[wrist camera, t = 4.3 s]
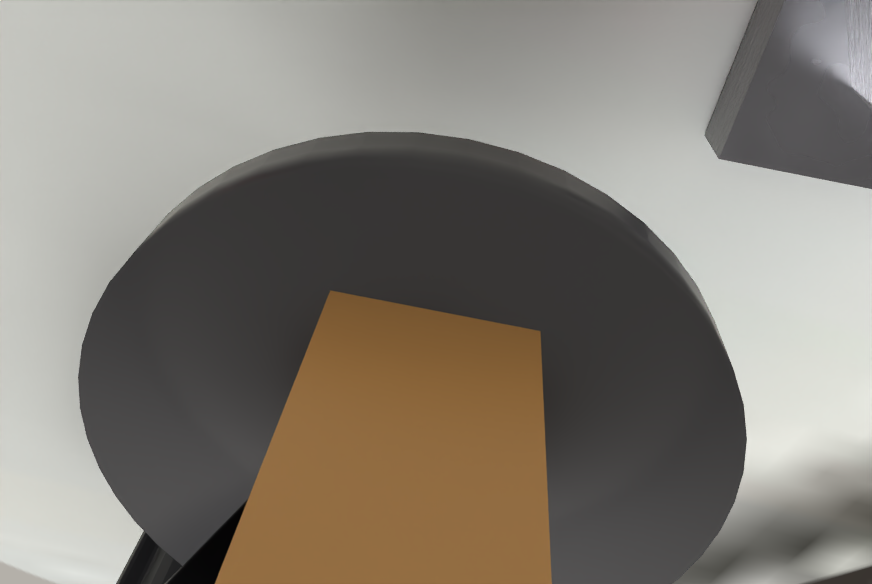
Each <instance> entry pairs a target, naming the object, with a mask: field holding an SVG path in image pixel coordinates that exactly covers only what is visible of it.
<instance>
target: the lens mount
mask: <svg viewBox="0 0 872 584" xmlns="http://www.w3.org/2000/svg"><path fill="white" fill-rule="evenodd" d="M705 137H706V138H707V140H708V142H709V143H710V145H711V147H712V148H713V150H714V152H715V153H716V155H717V157H718V158H719V159H722V160H728V161H733V162H738V163H743V164H748V165H753V166H758V167H763V168H768V169H773V170H778V171H783V172H788V173H794V174H799V175H804V176H809V177H814V178H819V179H824V180H829V181H834V182H839V183H844V184H849V185H854V186H860V187H865V188H870V189H872V0H758V3H757V5H756V8H755V10H754V13H753V15H752V18H751V20H750V23H749V25H748V28H747V30H746V33H745V35H744V38H743V40H742V43H741V45H740V48H739V50H738V53H737V55H736V58H735V60H734V63H733V65H732V68H731V70H730V73H729V75H728V78H727V80H726V83H725V85H724V88H723V90H722V93H721V95H720V98H719V100H718V103H717V105H716V108H715V110H714V113H713V116H712V118H711V121H710V123H709V126H708V128H707V131H706V133H705Z"/></svg>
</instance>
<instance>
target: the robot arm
mask: <svg viewBox="0 0 872 584" xmlns="http://www.w3.org/2000/svg"><path fill="white" fill-rule="evenodd" d="M247 501H248V499H247V500H246V501H245V502H244V503H243V504H242V505H241V506H240V507H239V508H238V510H237V511H236V512H235V513H234V514H233V515H232V516H231V517H230V518H229V519H228V520H227V521H226V522H225V523H224V524H223V525H222V526H221V527H220V528H219V529H218V530H217V531H216V532H215V533H214V534H213V535H212V536H211V537H210V538H209V539H208V540H207V541H206V542H205V543H204V544H203V545H202V546H201V547H200V548H199V549H198V550H197V551H196V552H195V553H194V554H193V555H192V557H191V558H190V559H189V560H188V561H187V562H186V563H185V564H184V565H183V566H182V565H181V564H180V563H178V562H177V561H176V560H175V559H174V558H173V557H171V556H170V555H169V554H168V553H167V552H166V551H164V550H163V549H162V548H161V547H160V546H158V545H157V544H156V543H155V542H154V541H153V540H152V538H151V537H150V536H149V535H148V534H147V533H146V532H145V531H144V532H143V533H142V535H141V537H140V539H139V541H138V543H137V545H136V547H135V549H134V551H133V553H132V555H131V556H130V558H129V560H128V562H127V564H126V566H125V568H124V570H123V572H122V574H121V576H120V578H119V579H118V581H117V583H116V584H215V582H216V579H217V577H218V574H219V572H220V569H221V567H222V564H223V562H224V559H225V557H226V554H227V552H228V549H229V546H230V544H231V541H232V539H233V536H234V534H235V531H236V529H237V526H238V524H239V521H240V519H241V516H242V513H243V511H244V508H245V506H246V503H247Z"/></svg>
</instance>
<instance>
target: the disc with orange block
mask: <svg viewBox="0 0 872 584" xmlns="http://www.w3.org/2000/svg"><path fill="white" fill-rule="evenodd" d="M78 380H79V396H80V409H81V414H82V418H83V422H84V426H85V431H86V435H87V439H88V441H89V444H90V446H91V449H92V451H93V454H94V456H95V459H96V461H97V463H98V466H99V468H100V470H101V472H102V473H103V475H104V477H105V479H106V480H107V482H108V484H109V485H110V487H111V489H112V491H113V492H114V494H115V496H116V497H117V498H118V500H119V501H120V502H121V504H122V505H123V506H124V508H125V509H126V510H127V511H128V513H129V514H130V515H131V517H132V518H133V519H134V521H135V522H136V523H137V524H138V525H139V526H140V527H141V528H142V529H143V530H144V531H145V532H146V533H147V534H148V535H149V536H150V537H151V538H152V540H153V541H154V542H155V543H156V544H157V545H158V546H160V547H161V548H162V549H163V550H164V551H166V552H167V553H168V554H169V555H170V556H171V557H173V558H174V559H175V560H176V561H177V562H178V563H180V564H181V565H182V566H183V565H184V564H185V563H186V562H187V561H188V560H189V559H190V558H191V557H192V555H193V554H194V553H195V552H196V551H197V550H198V549H199V548H200V547H201V546H202V545H203V544H204V543H205V542H206V541H207V540H208V539H209V538H210V537H211V536H212V535H213V534H214V533H215V532H216V531H217V530H218V529H219V528H220V527H221V526H222V525H223V524H224V523H225V522H226V521H227V520H228V519H229V518H230V517H231V516H232V515H233V514H234V513H235V512H236V511H237V510H238V508H239V507H240V506H241V505H242V504H243V503H244V502H245V501H246V500H247V499H248V501H247V503H246V506H245V508H244V511H243V513H242V516H241V519H240V521H239V524H238V526H237V529H236V531H235V534H234V536H233V539H232V541H231V544H230V546H229V549H228V552H227V554H226V557H225V559H224V562H223V564H222V567H221V569H220V572H219V574H218V577H217V579H216V582H215V584H672V583H674V582H675V581H676V580H677V579H679V578H680V577H681V576H682V575H683V574H684V573H685V572H686V571H687V570H688V569H689V568H690V567H691V566H692V565H693V564H694V563H695V562H696V561H697V560H698V559H699V558H700V557H701V556H702V555H703V553H704V552H705V550H706V549H707V548H708V546H709V545H710V544H711V542H712V541H713V539H714V538H715V537H716V535H717V534H718V533H719V531H720V530H721V528H722V526H723V524H724V522H725V520H726V518H727V516H728V514H729V512H730V510H731V508H732V506H733V504H734V502H735V499H736V495H737V492H738V488H739V485H740V482H741V478H742V475H743V471H744V461H745V451H746V441H747V437H746V426H745V415H744V404H743V401H742V398H741V394H740V391H739V387H738V384H737V380H736V377H735V373H734V370H733V367H732V365H731V362H730V359H729V357H728V354H727V352H726V349H725V347H724V344H723V342H722V339H721V336H720V334H719V331H718V329H717V326H716V324H715V321H714V319H713V317H712V315H711V313H710V311H709V309H708V307H707V305H706V303H705V301H704V299H703V296H702V294H701V292H700V290H699V288H698V286H697V285H696V283H695V282H694V281H693V279H692V278H691V277H690V275H689V274H688V272H687V271H686V270H685V268H684V267H683V265H682V264H681V263H680V261H679V260H678V258H677V257H676V256H675V254H674V253H673V252H672V251H671V250H670V249H669V248H668V247H667V246H666V245H665V244H664V243H663V242H662V241H661V240H660V239H659V238H658V237H657V236H656V235H655V234H654V233H653V232H652V231H651V230H650V229H649V228H648V226H647V225H646V224H645V223H644V222H642V221H641V220H640V219H638V218H637V217H636V216H634V215H633V214H632V213H630V212H629V211H628V210H626V209H625V208H624V207H623V206H621V205H620V204H619V203H617V202H616V201H615V200H613V199H612V198H611V197H609V196H608V195H607V194H605V193H603V192H601V191H600V190H598V189H596V188H594V187H592V186H591V185H589V184H587V183H585V182H584V181H582V180H580V179H578V178H577V177H575V176H573V175H571V174H569V173H568V172H566V171H564V170H561V169H559V168H556V167H554V166H551V165H549V164H546V163H544V162H541V161H539V160H537V159H534V158H532V157H529V156H527V155H524V154H522V153H519V152H516V151H512V150H508V149H504V148H501V147H497V146H493V145H489V144H485V143H482V142H478V141H474V140H470V139H464V138H456V137H449V136H441V135H434V134H426V133H419V132H364V133H356V134H348V135H340V136H332V137H323V138H317V139H313V140H310V141H306V142H302V143H298V144H294V145H290V146H287V147H283V148H279V149H275V150H272V151H270V152H267V153H265V154H263V155H260V156H258V157H256V158H253V159H251V160H248V161H246V162H244V163H241V164H239V165H236V166H234V167H232V168H230V169H229V170H227V171H226V172H224V173H222V174H221V175H219V176H217V177H216V178H214V179H212V180H211V181H209V182H207V183H206V184H204V185H203V186H201V187H199V188H198V189H196V190H195V191H194V192H193V193H192V194H191V195H189V196H188V197H187V198H186V199H185V200H184V201H182V202H181V203H180V204H179V205H178V206H177V207H175V208H174V209H173V210H172V211H171V212H170V213H168V215H167V216H166V217H165V218H164V219H163V220H162V221H161V223H160V224H159V225H158V226H157V227H156V228H155V229H154V230H153V232H152V233H151V234H150V235H149V236H148V237H147V238H146V240H145V241H144V242H143V243H142V244H141V245H140V246H139V248H138V249H137V250H136V251H135V252H134V253H133V255H132V256H131V257H130V258H129V259H128V261H127V262H126V263H125V264H124V265H123V267H122V268H121V269H120V270H119V271H118V273H117V274H116V275H115V276H114V277H113V279H112V280H111V281H110V282H109V284H108V286H107V288H106V290H105V291H104V293H103V295H102V297H101V299H100V300H99V302H98V304H97V306H96V308H95V310H94V311H93V313H92V316H91V319H90V322H89V325H88V329H87V332H86V335H85V338H84V341H83V344H82V351H81V359H80V367H79V376H78Z"/></svg>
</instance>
